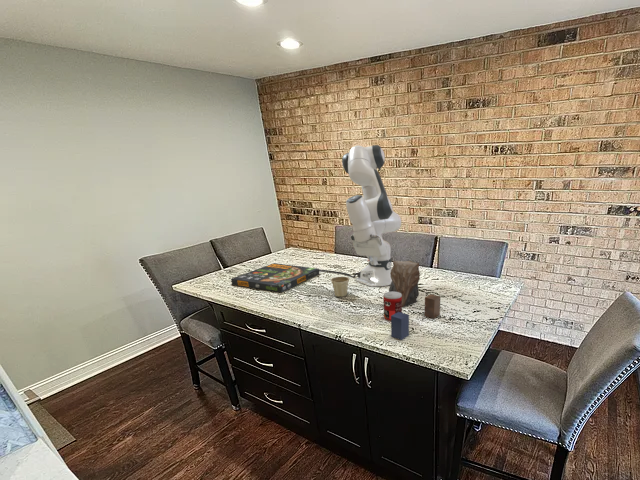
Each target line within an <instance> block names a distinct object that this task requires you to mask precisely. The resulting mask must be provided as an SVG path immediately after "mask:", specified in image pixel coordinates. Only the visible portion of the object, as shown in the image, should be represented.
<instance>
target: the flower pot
mask: <svg viewBox="0 0 640 480" xmlns="http://www.w3.org/2000/svg"><path fill="white" fill-rule="evenodd" d="M349 281H350V278H349V276H334V277H332V278H330V282H331V284H332V287H333V292H334V296H335V297H336V298H337V297H342V298H343V297H347V295H348V289H349V288H348V287H349Z"/></svg>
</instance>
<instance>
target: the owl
mask: <svg viewBox="0 0 640 480" xmlns="http://www.w3.org/2000/svg"><path fill="white" fill-rule="evenodd" d="M392 264H393V265H392V266H391V273H390V274H391V276H390V277H391V279H392V282H391V285H389V287H388V292H392V291H393V292H399V293H401V294H402V308H405V307H407V306H409V305H412V304H414V303H416V302H417V301H418V300H417V299H418V297H419V295H420V292H419V281H420V279H421V277H420V276H421V271H420V269H419V268H420V262H415V261H412V260H406V261H405V260H402V261H400V260H393V261H392Z"/></svg>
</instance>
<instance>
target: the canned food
mask: <svg viewBox="0 0 640 480" xmlns="http://www.w3.org/2000/svg"><path fill="white" fill-rule="evenodd" d="M382 299H383V317H384V320H387V321H390V322H391V316H392V315H394V314H395V313H397V312H401V313H403V307H402V294H401V293H399V292H393V291H392V292H389V291H386V292H384V293H383V298H382Z"/></svg>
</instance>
